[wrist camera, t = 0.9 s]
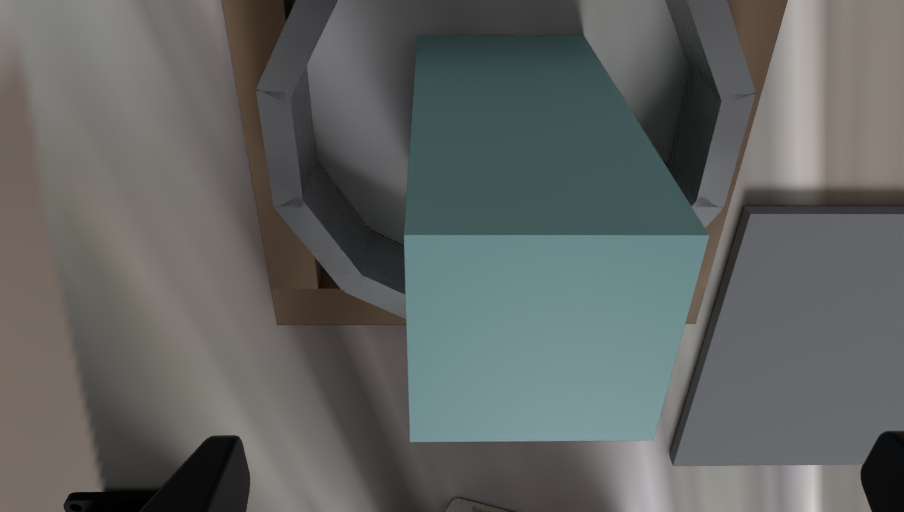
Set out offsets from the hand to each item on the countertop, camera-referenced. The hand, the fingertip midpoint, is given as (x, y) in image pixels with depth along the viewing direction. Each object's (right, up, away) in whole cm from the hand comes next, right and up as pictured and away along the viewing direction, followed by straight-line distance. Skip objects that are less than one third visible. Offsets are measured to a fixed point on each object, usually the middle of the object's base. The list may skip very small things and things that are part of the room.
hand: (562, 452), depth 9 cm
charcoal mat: (+14, -1, +15) cm, 21 cm away
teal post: (0, +7, +10) cm, 12 cm away
